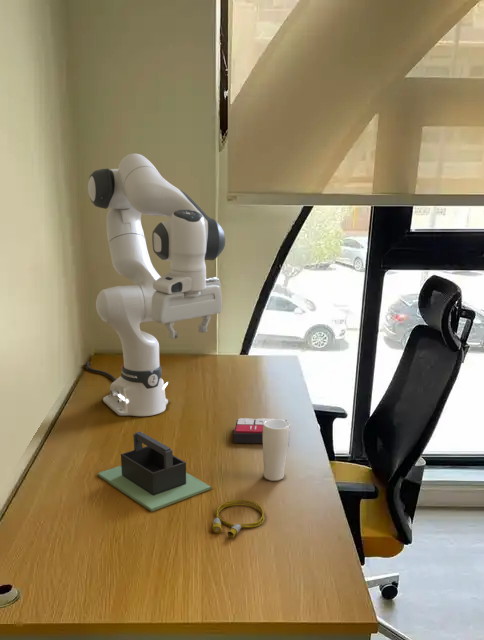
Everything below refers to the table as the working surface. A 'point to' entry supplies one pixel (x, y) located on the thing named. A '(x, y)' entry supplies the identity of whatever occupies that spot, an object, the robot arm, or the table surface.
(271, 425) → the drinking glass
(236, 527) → the extension cord
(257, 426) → the calculator
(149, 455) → the caddy bin
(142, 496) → the desk mat
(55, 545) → the table surface
